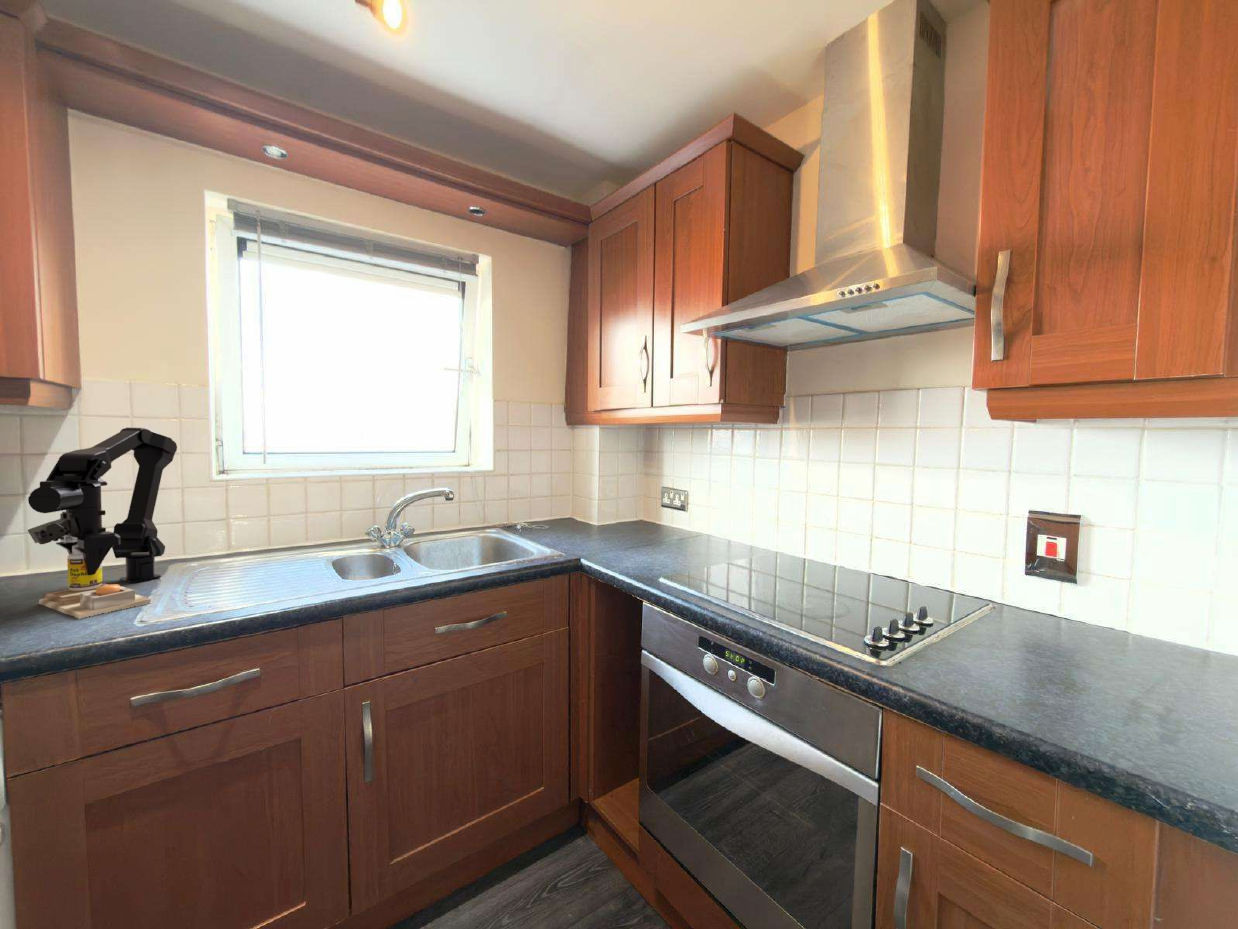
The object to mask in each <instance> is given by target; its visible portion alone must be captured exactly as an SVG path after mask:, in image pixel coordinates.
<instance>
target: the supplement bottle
mask: <svg viewBox="0 0 1238 929" xmlns="http://www.w3.org/2000/svg"><path fill="white" fill-rule="evenodd" d="M76 547H78V545H74V546H72V552H73V553H72V554H70V555H69V554H68V555H67V558H66V560H67V588H68V589H67V590H73V591H81V590H89V589H94V588H97V587H99V586H101V585H102V584H103V562H102V563H101V565H100V566H99V568H98V570H97V571H96V573H95V574H94V575H88V574H87V570H86V566H85V562H84V557H83V554H82V553H81V552H79V551H77V550H76V549H74V548H76Z"/></svg>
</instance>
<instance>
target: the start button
mask: <svg viewBox="0 0 1238 929" xmlns="http://www.w3.org/2000/svg"><path fill="white" fill-rule="evenodd" d="M120 586H121V585H120V584H116V583H114V584H108V585H104V586H99V587H97V588H96V595H98V596H102V595H107V594H112V593H118V592H120Z"/></svg>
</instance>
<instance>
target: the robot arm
mask: <svg viewBox="0 0 1238 929" xmlns="http://www.w3.org/2000/svg"><path fill="white" fill-rule="evenodd" d="M177 445H178V444H177V443H176V442H175V441H174V440H173V439H172V438H171V437H168V436H166V435H163V434H160V433H156V432H153V431H151V430H150V429H147V428H145V427H125V428H122V429H120V431H119V432H117V433H116V434H113V435H112V436H110V437H108V438H106V439H105V440H103V441H101V442H99V443H97V444H95V445H93V446H91V447H88V448H82V449H75V450H72V451H71V450H70V451H69V452H65V453H63V454H62V455H60V456H59V458H58V460H57V462H56V463H55V465H54V466H53V468H52V470H51V471H50V473H49V475H48V476H47V478H46V480H43V481H42V480H41V481H39V487H36V488H34V489H33V490H32V491H31V493H30V494H29V496H28V497H27V502H28V504H29V506H30V508H31V509H32V510H33V511H35V512H37V513H41V514H50V513H56V512H61V513H60V518H58V519H55V520H51V521H48V522H46V523H42V524H40V525H36V526H34V527H32V528H29V529H27V532H28V534H29V535H30V537H31V539H32V540H33V542H34V544H39V545H46V544H48V543H52V542H55V545H58V547H59V546H60V547H62V548H63V549H65V550H66V551H67V553H68V555H70V554H72V553H73V552H72V546H74V545H78V547H76V548H74V549H76V550H77V551H79V552H81V553H82V554H83V557H84V562H85V566H86V570H87V574H88V575H94V574H95V573H96V571H97V570H98V568H99V566H100V565H101V563H102V564H103V561H104V560H105V557H106V556H107V555H108V553H109V552H110V550H112V552H113V555H114V557H115V559H125V576H122V577H119V580H120V579H122V580H121V581H123V580H125V581H124V582H126V581H127V582H126V583H130V582H133V583H137V581H139V582H142V581H141V580H144V581H147V580H146V579H149V580H152V579H151V578H155V579H159V578H158V577H160V578H161V577H162V575H160V574H156V567H155V566H156V562H155V561H156V559H155V558H157V557H162V556H163V555H164V554H165V551H166V546H165V544H164V543H163V542H162V541H161V540H160V538H158V528H157V527H156V525H155V524H154V521H153V518H154V514H155V508H156V503H157V498H158V494H159V491H160V490H159V489H160V485H161V479H162V475H163V471H164V470H165V468H166V467H168V466H169V464H171V462H173V460H174V457H175V455H176V453H177V450H178V446H177ZM131 451H132V452H133V457H134V460H135V461H136V463H137V465H138V470H137V474H136V477H135V483H134V487H133V492H132V495H131V498H130V499H131V500H130V504H129V508H128V513H127V517H126V519H125V520H123V521H122V522H121V523H120V522H119V523H115V525H113V526H114V527H113V532H112V531H106V530H107V528H106V527H103V521H102V520H103V518H102V516H105V515H106V510H103V509H102V487H104V486H107V485H108V482H107V481H106V480H104V479H102V477H103V476H105V474H106V473H108V472H109V471H110V469H112V463H113V462H114V461H115V460H118V459H119V458H120V457H122V456H124V455H125V454H127V453H128V452H131ZM59 540H60V542H59Z"/></svg>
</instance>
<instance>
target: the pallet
mask: <svg viewBox="0 0 1238 929" xmlns="http://www.w3.org/2000/svg"><path fill="white" fill-rule="evenodd" d="M104 585H109V584H107V583H105V582H102V585H101V586H104ZM150 602H151V603H152V599H151V598H149V597H145V596H143V595H139V594H136V590H135V589H133V588H128V587H124V586H121V585H120V592H118V593H112V594H107V595H102V596H98V595H96V588H94V589H89V590H81V591H73V590H69V589H65V590H59V591H54V592H49V593H48V592H47V593H44V598H41V599H40V598H39V600H38V604H39V605H42V606H45V607H47V608H49V609H52V610H55V611H58V612H59V613H63V614H66V615H68V616H71V617H73V616H74V618H76V619H79V620H81V619H85V617H86V618H90V617H94V615H95V616H98V615H97V614H100V615H102V614H101V613H104V614H108V612H109V613H112V612H111V611H113V612H115V611H114V610H118V609H122V610H126V608H127V609H131V608H135V607H134V606H136V607H140V606H145V605H148V604H147V603H149V604H151V603H150ZM144 604H145V605H144ZM130 607H131V608H130ZM118 611H119V610H118ZM89 616H90V617H89Z"/></svg>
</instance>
